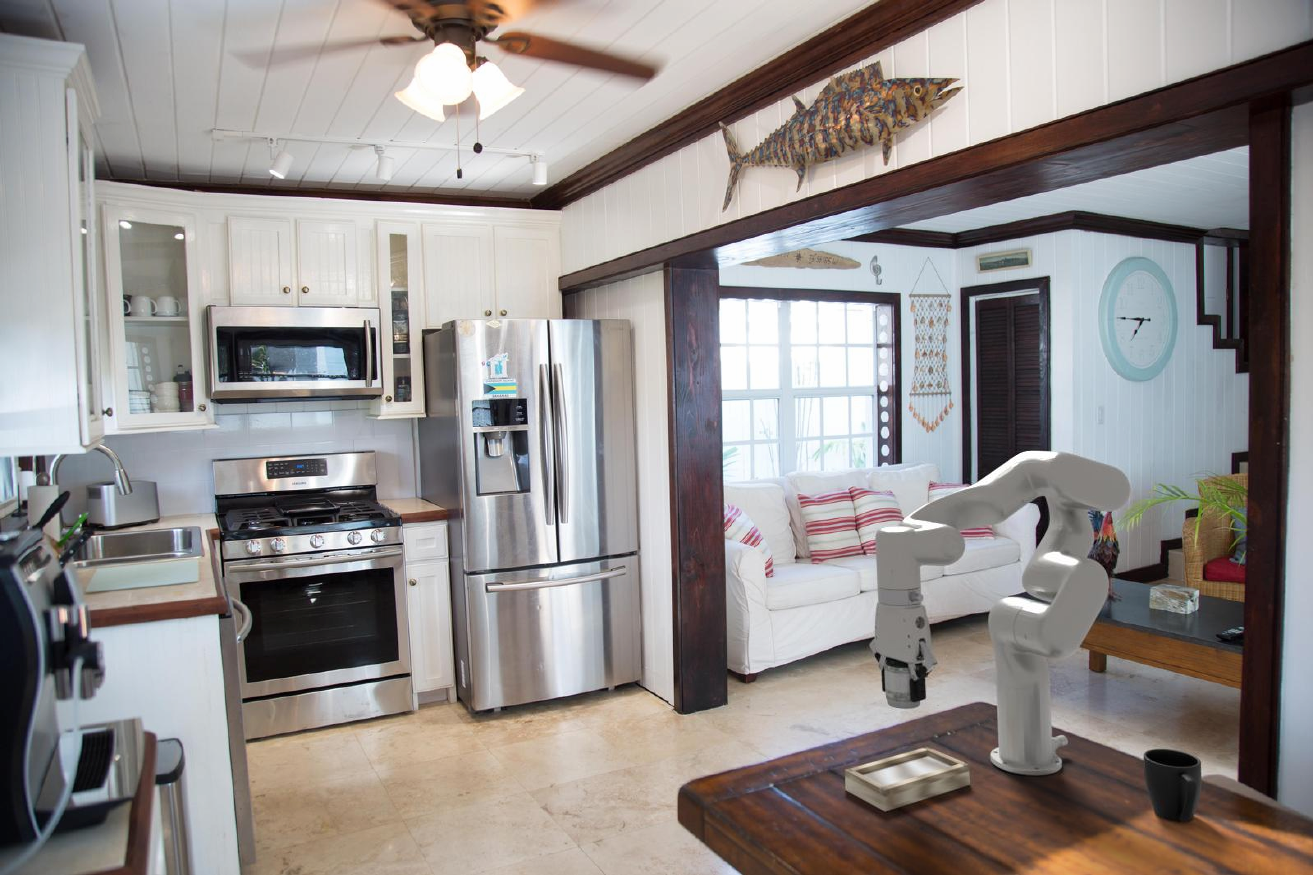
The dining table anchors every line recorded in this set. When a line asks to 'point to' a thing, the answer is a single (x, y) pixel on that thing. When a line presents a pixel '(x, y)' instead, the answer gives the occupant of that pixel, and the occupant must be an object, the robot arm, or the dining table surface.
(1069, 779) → the dining table surface
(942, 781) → the beige rimmed shallow tray
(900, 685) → the camera lens
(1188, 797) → the mug
